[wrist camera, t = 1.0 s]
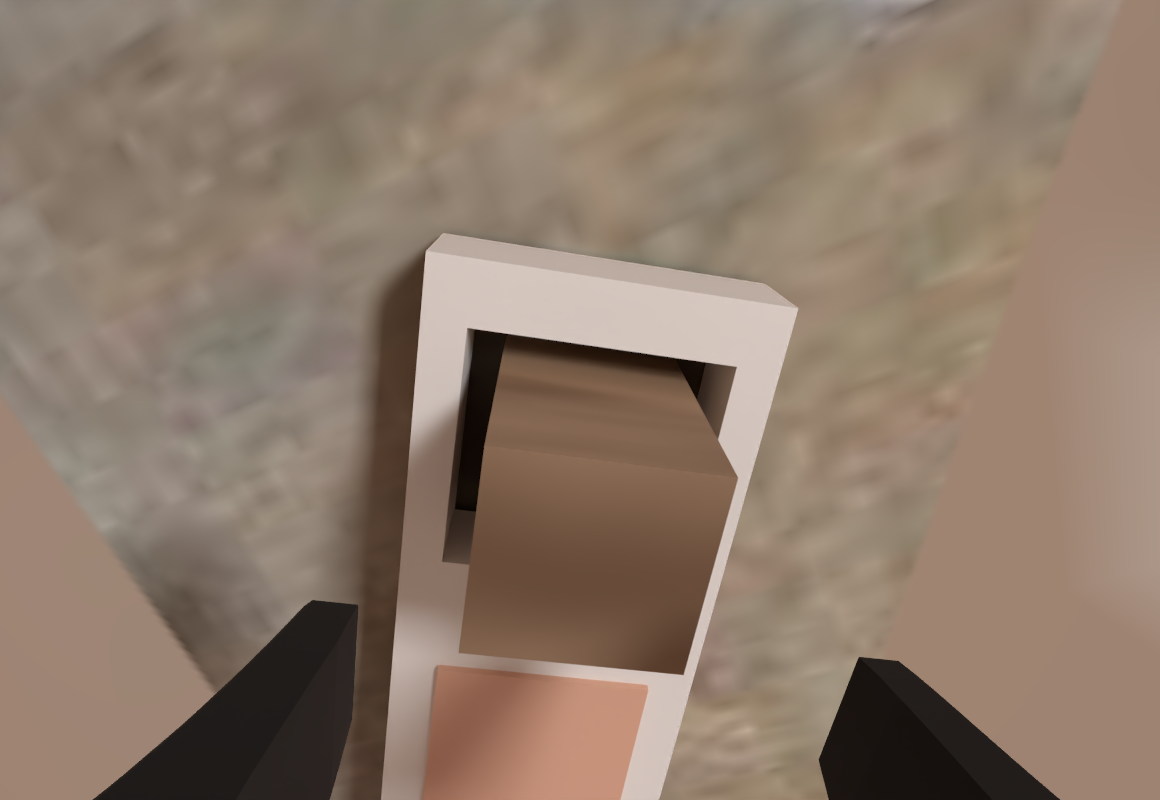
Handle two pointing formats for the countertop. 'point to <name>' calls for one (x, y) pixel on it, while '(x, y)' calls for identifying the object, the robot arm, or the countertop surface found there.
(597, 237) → the countertop surface
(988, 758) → the robot arm
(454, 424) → the socket block
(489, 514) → the plug
